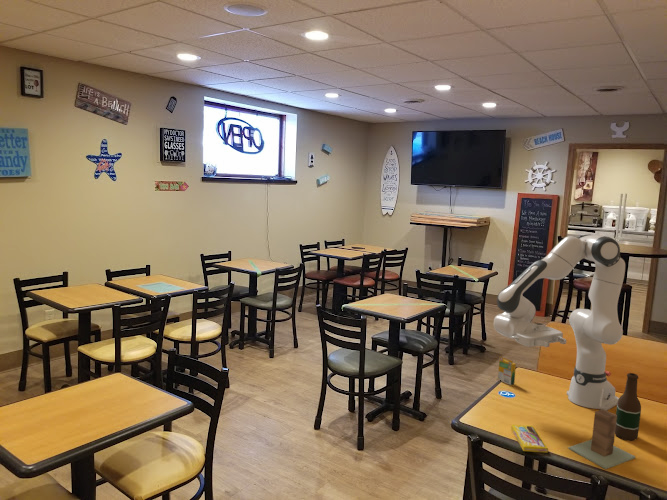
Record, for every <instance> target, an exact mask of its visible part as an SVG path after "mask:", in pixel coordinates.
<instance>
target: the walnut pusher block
mask: <svg viewBox="0 0 667 500" xmlns="http://www.w3.org/2000/svg"><path fill="white" fill-rule="evenodd" d="M616 420H617V415H616V413H613V412H610V411H609V410H604V409H602V410H601V409H598V410H596V411H595V412H594V419H593V428H592V437H591V440H592V444H591V450H592V451H594V452H596V453H598V454H600V455H602V456H604V457H605V456H608V455H611V454H613V446H615V438H616V437H615V436H616V435H615V428H616Z"/></svg>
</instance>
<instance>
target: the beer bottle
mask: <svg viewBox="0 0 667 500" xmlns="http://www.w3.org/2000/svg"><path fill="white" fill-rule="evenodd" d="M626 377H627V378H626V382H625V383H626V384H625V387H624V388H625V389H624V392H623V393H622V394H621V395H620V396H619V397H618V398H619V399H618V403H617V405H616V409H615V410H616V411H615V415H617V420H616V428H615V436H616V437H617V438H619V439H622V440H623V441H629V442H635V441H636V440H638V437H639V430H640V421H641V414H642V405H641V401H640V399H639V398H638V379H639V375H638V374H637V373H633V372H632V373H631V372H629V373H627V374H626Z"/></svg>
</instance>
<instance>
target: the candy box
mask: <svg viewBox="0 0 667 500" xmlns="http://www.w3.org/2000/svg"><path fill="white" fill-rule="evenodd" d="M510 429H511V431H512V433H513V435H514V436H515V438H516V441H517V442H518V444H519V446H520V448H521V449H522V451H523V452H533V453H546V454H547V453H549V451H548V450H549V448H548V446H547V444H546V443H545V441H544V440H543V439H542V437H541V436H540V434H539V432H538V430H536V428H535V426H534V425H521V424H511V427H510Z"/></svg>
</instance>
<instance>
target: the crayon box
mask: <svg viewBox="0 0 667 500" xmlns="http://www.w3.org/2000/svg"><path fill="white" fill-rule="evenodd" d="M516 368H517V363H515V362H513V360H511V359H508V358H506V357H502V356H499V360H498V372H497V381H500V380H501V381H500V382H502V383H505V384H507V385H509V386H512V385H514V384H515V378H516Z"/></svg>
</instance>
